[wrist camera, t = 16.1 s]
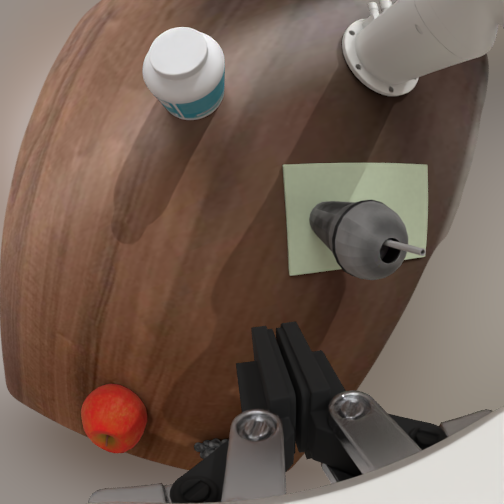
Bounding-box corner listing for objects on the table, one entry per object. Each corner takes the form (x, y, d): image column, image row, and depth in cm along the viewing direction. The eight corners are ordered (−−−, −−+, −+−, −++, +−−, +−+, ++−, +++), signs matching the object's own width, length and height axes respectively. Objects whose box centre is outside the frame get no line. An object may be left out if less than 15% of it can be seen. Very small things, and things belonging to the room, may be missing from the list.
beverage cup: (305, 254, 37) (384, 334, 18) (291, 199, 35) (372, 232, 16) (356, 237, 37) (459, 296, 18) (345, 184, 35) (456, 203, 16)
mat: (282, 164, 34) (283, 164, 34) (425, 164, 36) (427, 164, 36) (288, 274, 38) (289, 275, 38) (423, 255, 40) (425, 256, 39)
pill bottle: (229, 70, 30) (235, 19, 18) (217, 125, 32) (216, 97, 19) (170, 63, 29) (146, 12, 16) (156, 117, 31) (121, 89, 18)
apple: (82, 395, 41) (63, 436, 30) (108, 365, 39) (87, 411, 29) (131, 428, 43) (120, 471, 33) (162, 403, 42) (154, 451, 32)
